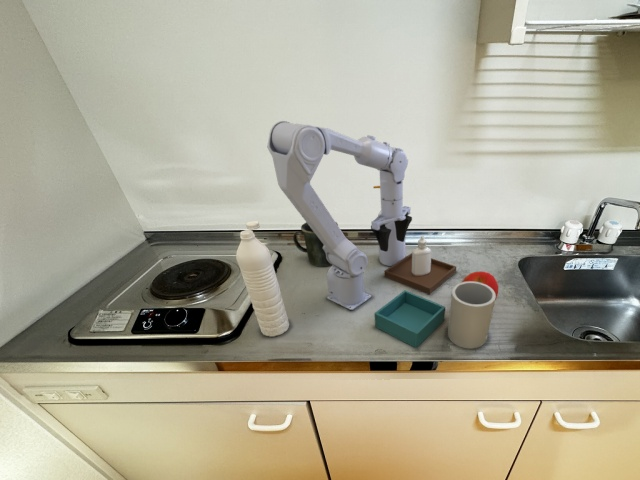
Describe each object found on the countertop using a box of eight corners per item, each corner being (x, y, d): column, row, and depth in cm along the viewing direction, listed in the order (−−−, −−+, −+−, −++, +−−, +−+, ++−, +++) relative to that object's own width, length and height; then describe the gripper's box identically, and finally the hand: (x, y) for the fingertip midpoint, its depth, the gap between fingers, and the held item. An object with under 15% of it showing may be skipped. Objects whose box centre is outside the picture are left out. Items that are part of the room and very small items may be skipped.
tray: (384, 276, 96) (384, 270, 94) (413, 257, 106) (413, 252, 104) (429, 294, 88) (429, 288, 87) (455, 272, 98) (456, 266, 96)
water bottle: (286, 336, 74) (258, 237, 60) (258, 338, 74) (222, 239, 59) (293, 313, 81) (269, 220, 67) (267, 314, 81) (237, 221, 66)
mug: (339, 268, 100) (334, 232, 93) (293, 267, 100) (285, 232, 93) (344, 252, 109) (340, 218, 102) (302, 252, 109) (295, 218, 102)
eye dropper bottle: (429, 277, 94) (431, 240, 87) (410, 275, 95) (411, 239, 88) (430, 270, 98) (432, 233, 91) (412, 268, 98) (413, 232, 91)
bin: (375, 327, 77) (374, 313, 74) (404, 303, 85) (404, 290, 82) (416, 348, 71) (417, 333, 68) (444, 320, 79) (445, 306, 76)
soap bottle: (379, 253, 108) (376, 181, 94) (406, 254, 107) (407, 182, 93) (374, 265, 101) (370, 190, 87) (403, 267, 100) (403, 191, 86)
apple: (488, 289, 85) (491, 258, 76) (501, 315, 79) (507, 285, 70) (455, 298, 85) (454, 268, 76) (466, 325, 80) (466, 296, 70)
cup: (447, 320, 78) (451, 280, 71) (484, 322, 77) (492, 282, 70) (448, 347, 71) (452, 305, 64) (489, 349, 70) (498, 307, 63)
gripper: (386, 208, 75) (387, 259, 83) (420, 193, 84) (418, 240, 92) (363, 202, 78) (367, 251, 86) (398, 188, 88) (399, 234, 96)
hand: (392, 245), depth 90 cm, fingers open, 7 cm apart
